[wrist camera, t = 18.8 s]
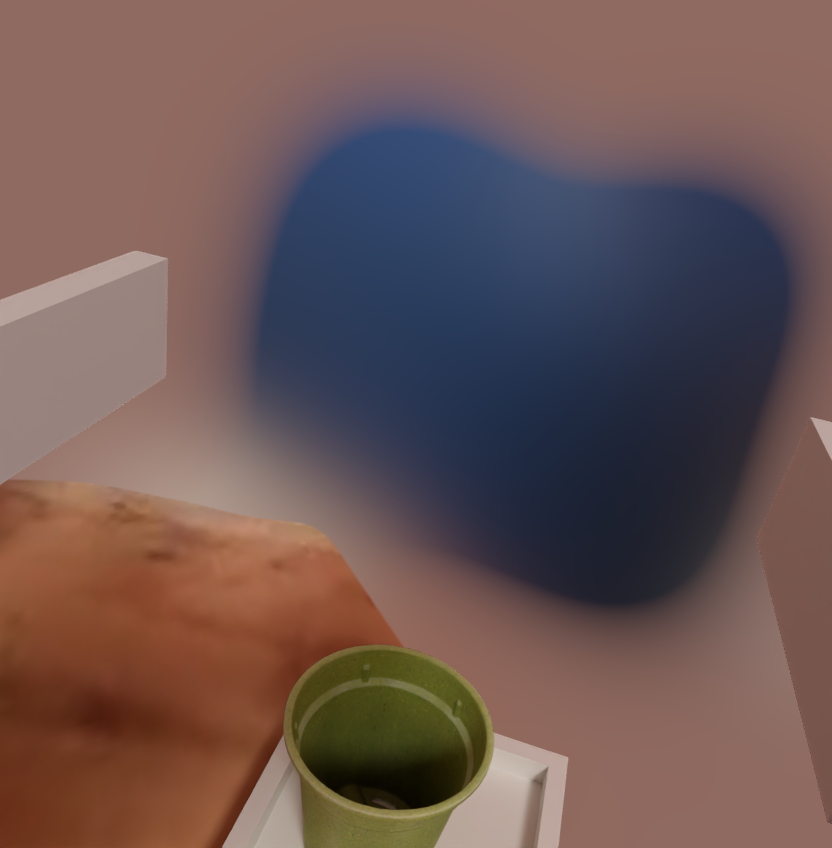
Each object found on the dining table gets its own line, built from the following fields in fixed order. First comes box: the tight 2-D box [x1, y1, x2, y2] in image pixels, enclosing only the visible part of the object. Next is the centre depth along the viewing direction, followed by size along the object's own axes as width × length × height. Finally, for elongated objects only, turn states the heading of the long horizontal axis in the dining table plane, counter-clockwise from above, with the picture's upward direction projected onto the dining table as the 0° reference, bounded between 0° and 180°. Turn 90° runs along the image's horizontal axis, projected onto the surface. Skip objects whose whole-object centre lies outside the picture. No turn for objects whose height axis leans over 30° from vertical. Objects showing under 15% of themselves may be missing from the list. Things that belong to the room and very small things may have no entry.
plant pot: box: [283, 644, 494, 848], centre depth 36 cm, size 9×9×9 cm
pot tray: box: [222, 733, 568, 848], centre depth 38 cm, size 15×15×2 cm
